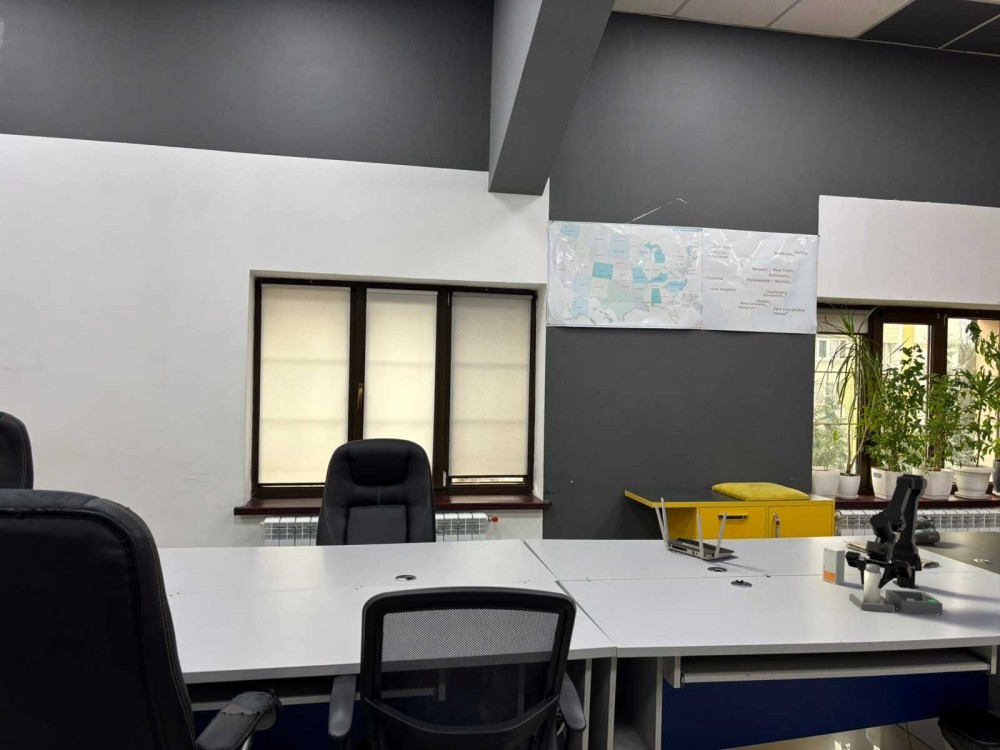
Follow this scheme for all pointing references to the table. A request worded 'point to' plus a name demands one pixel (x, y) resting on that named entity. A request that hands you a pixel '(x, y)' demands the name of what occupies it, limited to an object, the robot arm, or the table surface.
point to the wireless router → (692, 545)
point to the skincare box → (833, 565)
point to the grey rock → (926, 531)
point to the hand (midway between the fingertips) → (870, 586)
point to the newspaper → (862, 548)
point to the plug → (872, 584)
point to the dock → (914, 602)
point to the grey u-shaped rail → (873, 604)
